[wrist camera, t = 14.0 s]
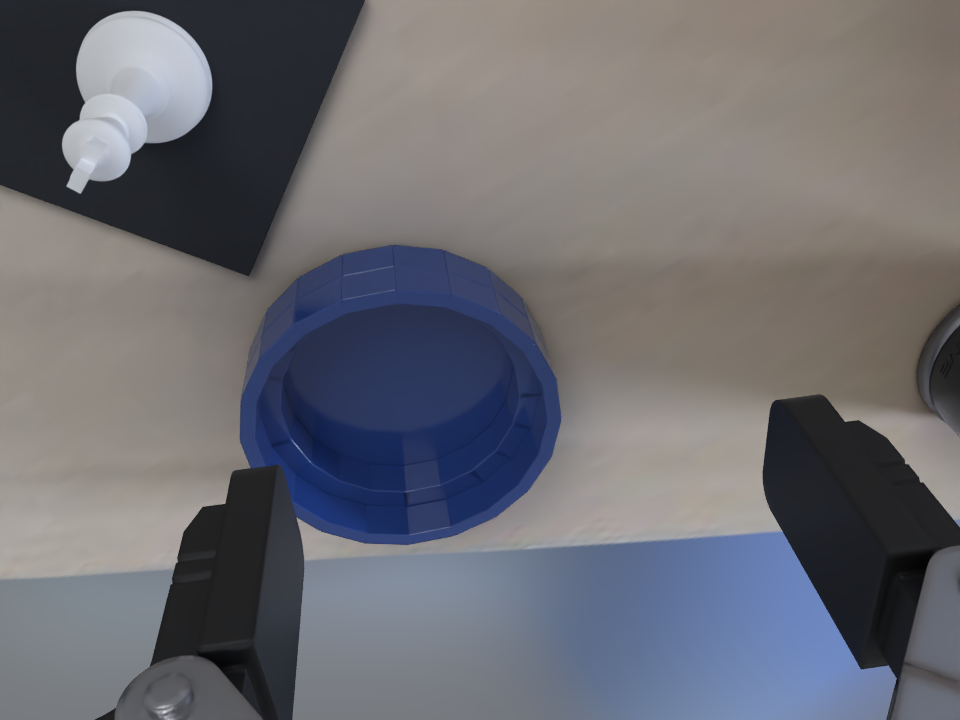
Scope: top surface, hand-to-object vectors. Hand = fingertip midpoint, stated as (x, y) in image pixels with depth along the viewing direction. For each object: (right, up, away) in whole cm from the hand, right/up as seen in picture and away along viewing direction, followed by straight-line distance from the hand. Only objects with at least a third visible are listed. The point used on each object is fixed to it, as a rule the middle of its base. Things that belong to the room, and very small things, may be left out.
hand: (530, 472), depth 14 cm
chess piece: (-14, +13, +20) cm, 27 cm away
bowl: (-5, +1, +29) cm, 30 cm away
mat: (-14, +13, +20) cm, 28 cm away
